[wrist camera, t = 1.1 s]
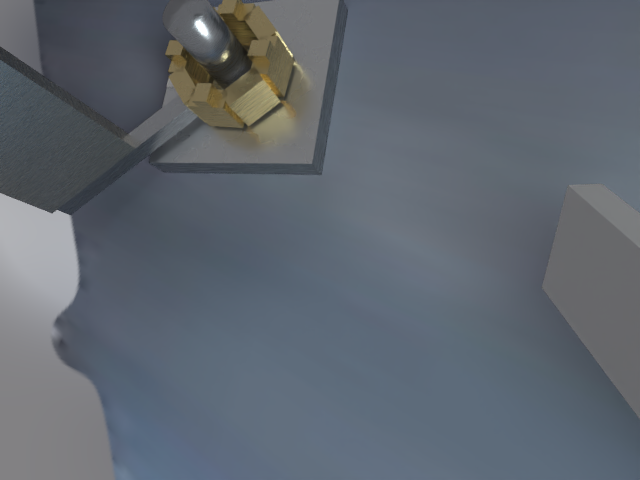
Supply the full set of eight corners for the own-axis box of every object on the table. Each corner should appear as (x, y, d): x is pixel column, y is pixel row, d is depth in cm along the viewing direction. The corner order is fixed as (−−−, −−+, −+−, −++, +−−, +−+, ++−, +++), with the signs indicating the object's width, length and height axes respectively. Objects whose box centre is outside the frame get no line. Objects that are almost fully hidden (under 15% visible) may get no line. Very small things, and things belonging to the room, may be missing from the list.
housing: (198, 25, 46) (122, -64, 37) (347, 10, 41) (302, -98, 32) (163, 172, 43) (72, 113, 34) (321, 174, 38) (262, 106, 29)
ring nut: (260, 10, 41) (141, -171, 28) (310, 79, 38) (202, -91, 25) (51, 175, 44) (-146, 80, 31) (81, 253, 41) (-127, 184, 28)
